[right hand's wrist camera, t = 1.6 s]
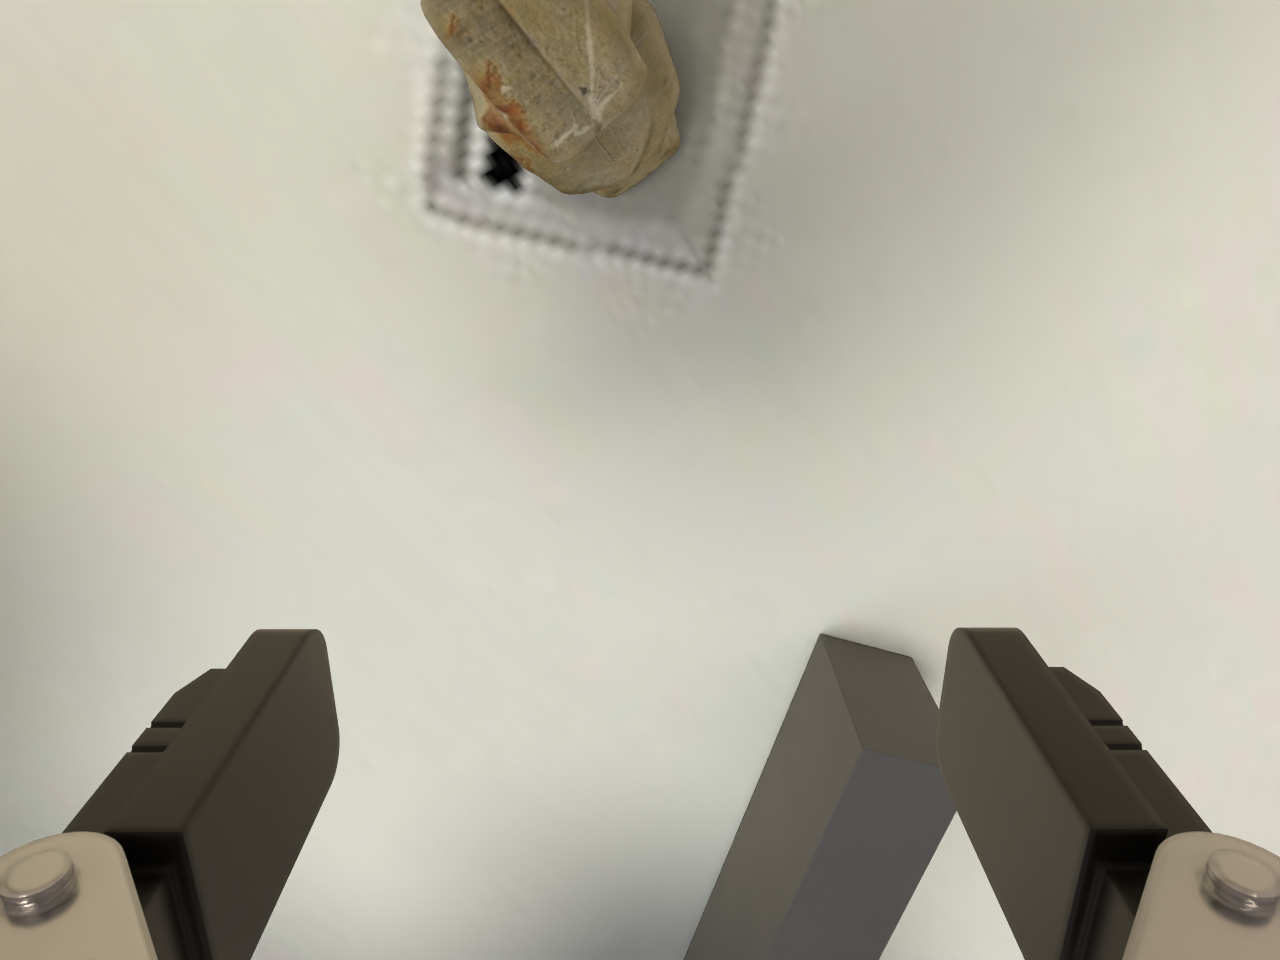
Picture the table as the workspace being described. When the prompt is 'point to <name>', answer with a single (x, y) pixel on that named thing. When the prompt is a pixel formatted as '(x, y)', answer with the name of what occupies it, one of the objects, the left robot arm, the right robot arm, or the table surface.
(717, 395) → the table surface
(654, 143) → the sculpture
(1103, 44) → the table surface
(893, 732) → the bar
